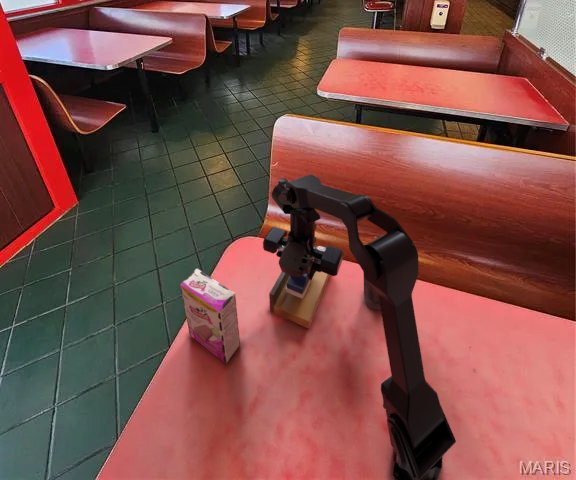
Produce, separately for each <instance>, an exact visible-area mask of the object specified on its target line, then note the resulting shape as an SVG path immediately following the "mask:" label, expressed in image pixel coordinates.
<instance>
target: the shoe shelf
mask: <svg viewBox="0 0 576 480" xmlns="http://www.w3.org/2000/svg"><path fill="white" fill-rule="evenodd" d="M330 276H331V275H329V274H326V273H324V272H317V271H316V272H315V274H314V276H313V278H312V280H311V282H310V284H309V286H308V288H307V291H306V293H305V295H304V297H303V299H302V298H299V297H297V296H294V295H292V294H290V293H287V292H286V287H287V282H288V280H289V278H290V274H287V273H284V272H282V271H281V272H280V273H279V275H278V277H277V279H276V281H275V282H274V284H273V286H272V288H271V289H270V291H269V293H268V298H269V312H270V313H273V314H275V315H278V317H282V318H283V319H286V320H288V321H291V322H293V323H295V324H297V325H298V326H299V325H300V326H302V327H303V328H306V329H308V330H309V329H310V327H311V325H312V322H313V319H314V317H315V314H316V312H317V309H318V306H319V304H320V302H321V299H322V296H323V294H324V292H325V289H326V287H327V284H328V281H329V279H330Z"/></svg>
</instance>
